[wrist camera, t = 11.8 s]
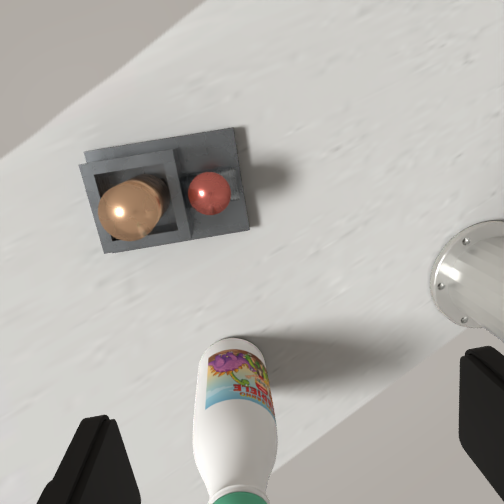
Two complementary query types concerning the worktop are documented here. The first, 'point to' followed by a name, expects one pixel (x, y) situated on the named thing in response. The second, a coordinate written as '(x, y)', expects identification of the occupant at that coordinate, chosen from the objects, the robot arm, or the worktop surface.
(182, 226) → the block
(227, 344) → the milk bottle
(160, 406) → the worktop surface
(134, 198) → the pipe stub
